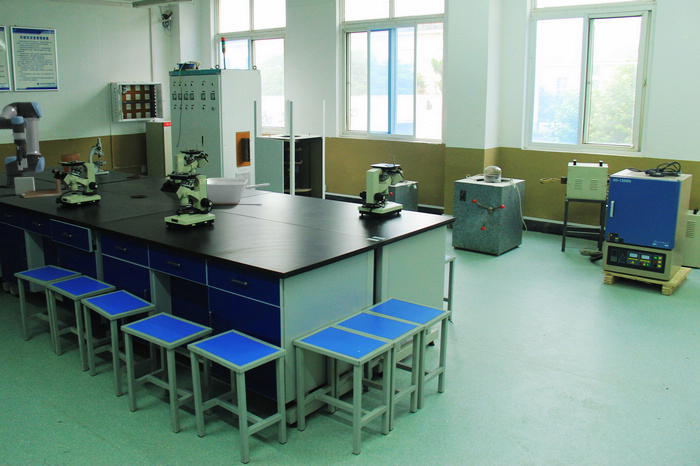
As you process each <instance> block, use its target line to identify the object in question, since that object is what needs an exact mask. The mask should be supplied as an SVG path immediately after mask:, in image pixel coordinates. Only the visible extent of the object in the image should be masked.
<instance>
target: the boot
mask: <svg viewBox="0 0 700 466" xmlns="http://www.w3.org/2000/svg"><path fill="white" fill-rule="evenodd" d="M80 153H81V152H76V153H70V154H69V153H68V154H63V155H60V159H61V163H62V162H69V161H75V160H77V161H81V156H80ZM62 169H63V173H64V172H69V167H65V166H63V165H62ZM63 186H64V189H65V190H66V189H69V188H70V187H69V186H68V185H66V184H65V183H64V182H63Z"/></svg>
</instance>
